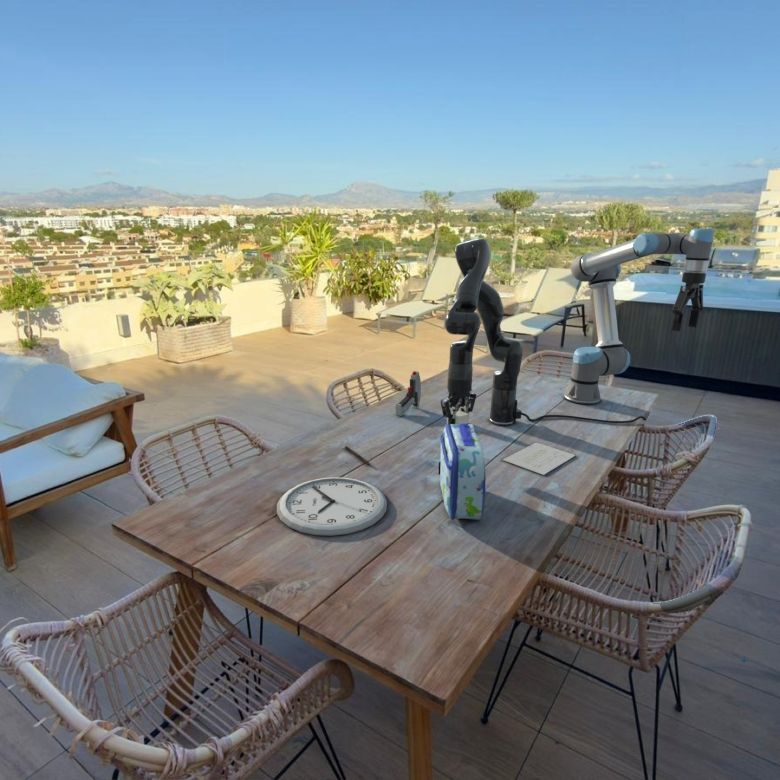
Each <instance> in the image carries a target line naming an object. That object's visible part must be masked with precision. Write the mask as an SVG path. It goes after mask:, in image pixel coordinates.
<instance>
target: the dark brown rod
mask: <svg viewBox="0 0 780 780" xmlns="http://www.w3.org/2000/svg"><path fill="white" fill-rule="evenodd" d="M344 449H345V450H346V451H348V452H349V453H350V454H352V455H353V456H355V457H356V458H358V459H359V460H361V461H362V462H363V463H364V464H366V465H370V461H368V460H367V459H366V458H364V457H363V456H361V455H360V454H358V453H357V452H356V451H354V450H353V449H352V448H350V447H348V446H347V445H345V446H344Z"/></svg>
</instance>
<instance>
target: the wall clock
mask: <svg viewBox="0 0 780 780" xmlns="http://www.w3.org/2000/svg"><path fill="white" fill-rule="evenodd" d="M387 509H388V500H387V498H386V496H385V494H384V493H383V492H382V491H381V490H380V489H379V488H377V487H376V486H374V485H372V484H371V483H369V482H365V481H362V480H359V479H355V478H349V477H338V476H337V477H335V476H333V477H332V476H331V477H322V478H317V479H312V480H307V481H305V482H302V483H299V484H297V485H295V486H293V487H292V488H290V489H288V490H287V491H286V492H285V493H284V494H283V495H281V496H280V498H279V499H278V502H277V503H276V515H277V517H278V518H279V520H280V521H281V522H282V523H283V524H285V525H286V526H287V527H288V528H290V529H293V530H295V531H297V532H299V533H303V534H308V535H312V536H327V537H328V536H329V537H331V536H332V537H333V536H342V535H350V534H352V533H356V532H361V531H363V530H366V529H368V528H369V527H372V526H373V525H375V524H376V523H378V522H379V521H380V520H381V519H382V518H383V517H384V516H385V514H386V512H387Z"/></svg>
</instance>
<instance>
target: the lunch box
mask: <svg viewBox="0 0 780 780" xmlns="http://www.w3.org/2000/svg"><path fill="white" fill-rule="evenodd" d="M439 439H440V458H439V459H440V461H438V475H440V480H439V481H440V482H439V484H440V485H439V486H440V489H441V494H442V500H443V504H444V509H445V511H446V513H447V515H448V517H449V518H450V519H451V520H455V519H456V520H458V519H459V520H460V519H463V520H464V519H465V520H476V521H477V520H480V521H481V520H482V518H483V516H484V511H485V502H486V501H485V499H486V463H485V458H484V450H483V447H482V444H481V442H480V439H479V437H478V434H477V431H476V428H475V425H474V424H473V423H471V424H470V423H469V422H468V423H465V424H459V425H458V424H451V425H450V424H447V423H446V424H444V427H443V432H442V434H441V435H440V438H439Z"/></svg>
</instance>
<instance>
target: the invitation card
mask: <svg viewBox="0 0 780 780" xmlns="http://www.w3.org/2000/svg"><path fill="white" fill-rule="evenodd" d="M576 456H577V455H576V454H573V453H570V452H567V451H565V450H561V449H558V448H555V447H552V446H549V445H546V444H543V443H539V442H534V443H532V444H529V445H528V446H526V447H524V448H522V449H520V450H518V451H516V452H514V453H512V454H510V455H509V456H507V457H505V458H503V459H502V461H503V462H506V463H509V464H511V465H514V466H518V467H520V468H523V469H525V470H528V471H531V472H534V473H536V474H539V475H541V476H545V475H547V474H548V473H550V472H552V471H554V469H556V468H558V467H559V466H561V465H563V464H564V463H566V462H568V461H570V460H571V459H572V458H574V457H576Z"/></svg>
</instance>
